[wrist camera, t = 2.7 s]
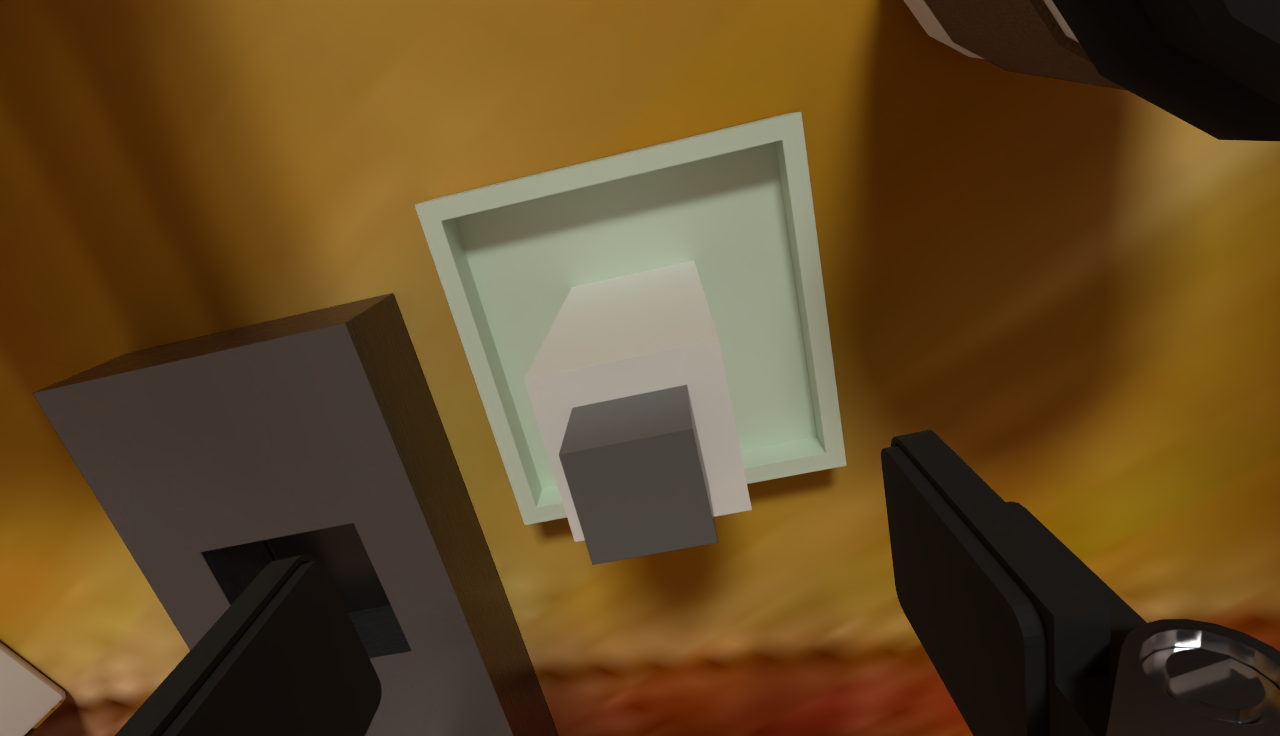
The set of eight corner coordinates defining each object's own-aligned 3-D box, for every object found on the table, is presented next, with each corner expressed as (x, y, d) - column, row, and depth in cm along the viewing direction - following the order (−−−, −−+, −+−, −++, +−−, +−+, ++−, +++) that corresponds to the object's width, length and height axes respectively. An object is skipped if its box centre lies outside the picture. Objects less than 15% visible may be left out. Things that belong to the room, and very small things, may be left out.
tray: (434, 198, 20) (414, 205, 18) (788, 113, 19) (801, 112, 17) (533, 497, 24) (524, 525, 22) (832, 440, 23) (846, 465, 21)
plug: (571, 287, 20) (501, 423, 11) (693, 260, 20) (730, 376, 10) (602, 399, 22) (562, 604, 12) (717, 375, 21) (767, 569, 12)
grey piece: (124, 353, 22) (-381, 568, 11) (393, 293, 21) (121, 464, 10) (376, 814, 30) (222, 1194, 19) (577, 786, 29) (533, 1168, 18)
